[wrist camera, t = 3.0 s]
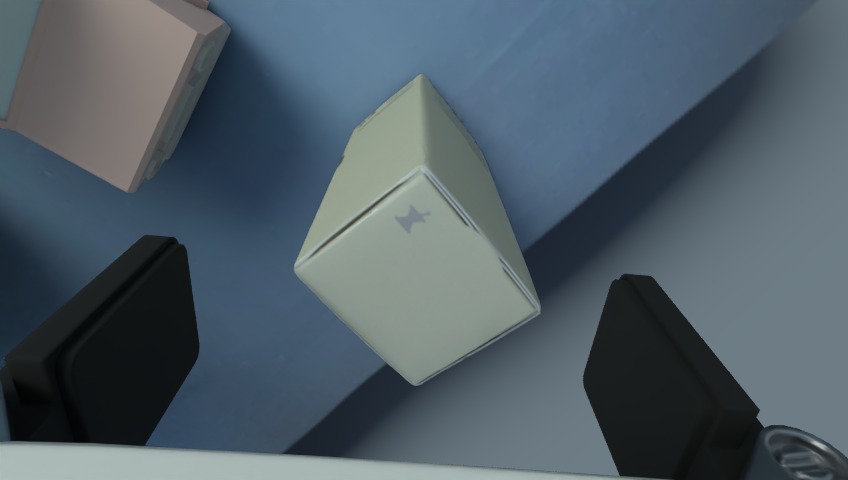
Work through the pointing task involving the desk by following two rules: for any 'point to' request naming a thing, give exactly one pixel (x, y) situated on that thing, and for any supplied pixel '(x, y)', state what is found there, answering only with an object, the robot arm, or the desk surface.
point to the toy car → (106, 78)
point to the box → (417, 240)
